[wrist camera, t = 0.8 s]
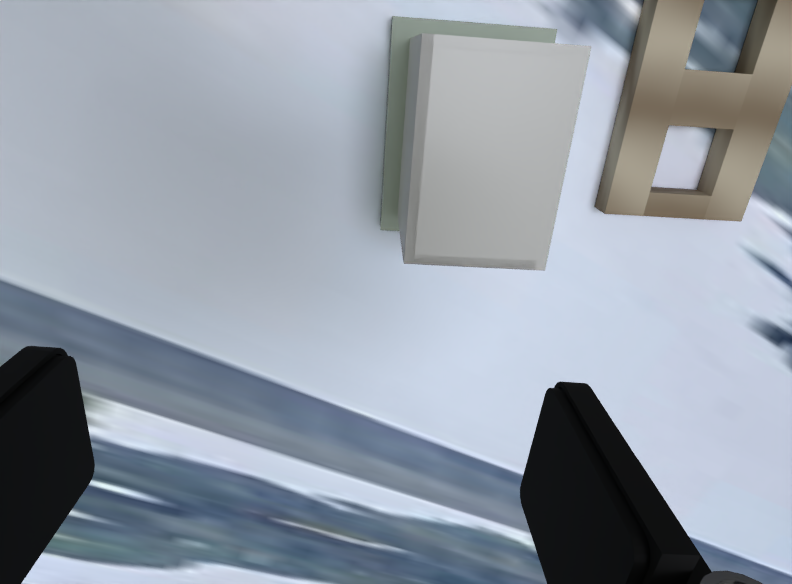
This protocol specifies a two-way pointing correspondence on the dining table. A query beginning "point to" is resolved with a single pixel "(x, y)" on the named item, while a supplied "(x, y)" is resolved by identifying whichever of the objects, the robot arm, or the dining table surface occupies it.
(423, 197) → the block
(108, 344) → the dining table surface
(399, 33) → the pad
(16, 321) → the dining table surface
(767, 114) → the board
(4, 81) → the dining table surface
